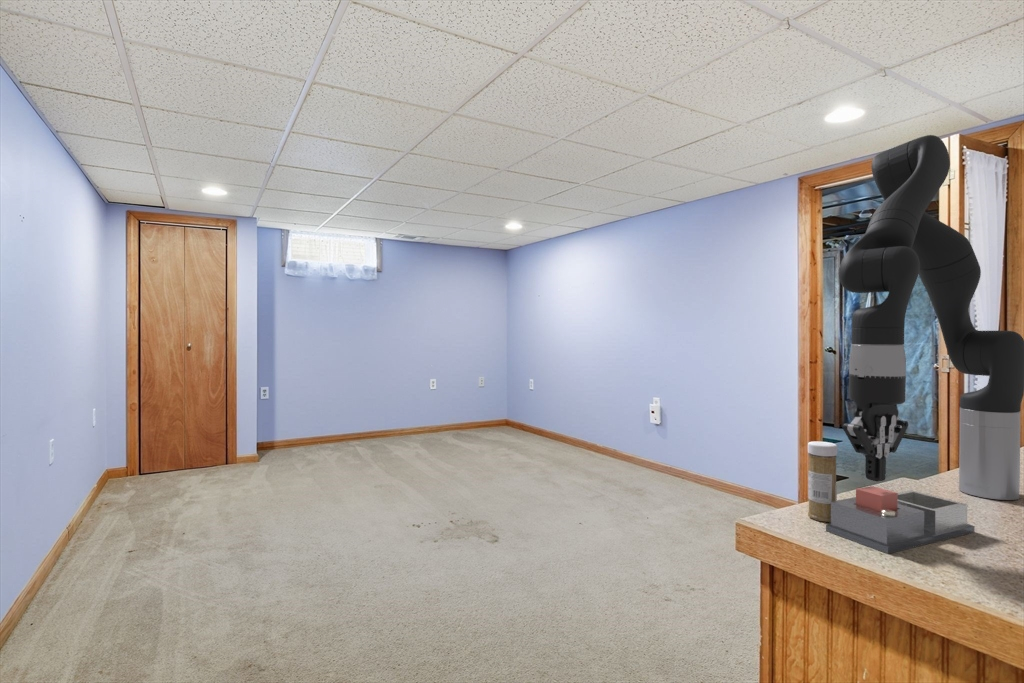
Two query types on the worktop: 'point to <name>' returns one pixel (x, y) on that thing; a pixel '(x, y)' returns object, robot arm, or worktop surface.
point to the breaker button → (876, 498)
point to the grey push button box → (900, 522)
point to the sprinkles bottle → (821, 479)
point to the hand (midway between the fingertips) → (875, 479)
